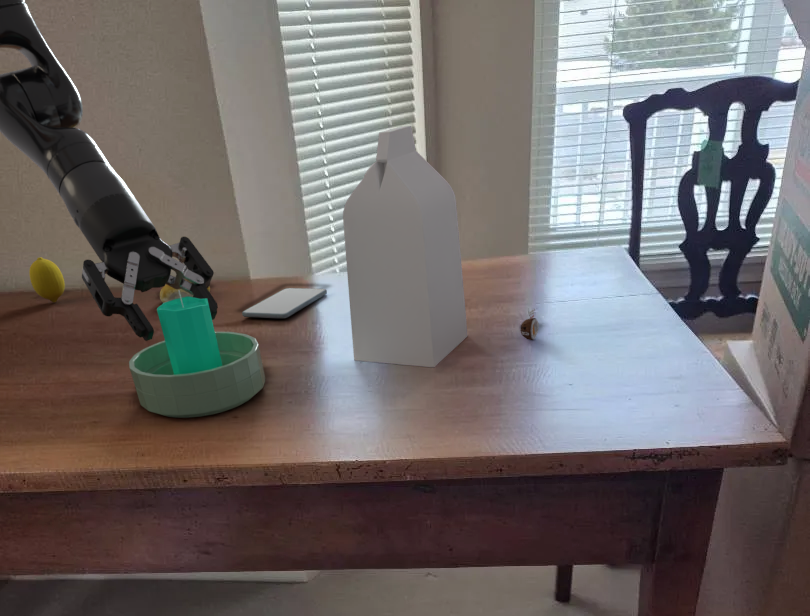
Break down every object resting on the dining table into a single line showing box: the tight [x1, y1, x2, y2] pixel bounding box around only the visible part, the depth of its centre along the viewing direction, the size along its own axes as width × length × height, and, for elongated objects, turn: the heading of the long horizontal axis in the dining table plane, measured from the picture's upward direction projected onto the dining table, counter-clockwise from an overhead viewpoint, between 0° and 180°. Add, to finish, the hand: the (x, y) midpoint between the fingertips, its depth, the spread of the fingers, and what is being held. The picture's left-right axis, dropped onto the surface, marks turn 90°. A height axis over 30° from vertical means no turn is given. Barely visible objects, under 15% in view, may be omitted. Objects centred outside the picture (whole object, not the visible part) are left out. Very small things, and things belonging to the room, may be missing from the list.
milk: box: [342, 125, 469, 368], centre depth 92 cm, size 12×12×26 cm
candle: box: [156, 290, 222, 375], centre depth 87 cm, size 6×6×12 cm
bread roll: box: [159, 280, 211, 304], centre depth 128 cm, size 8×9×4 cm
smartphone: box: [241, 287, 328, 319], centre depth 120 cm, size 8×1×15 cm
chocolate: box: [519, 308, 540, 341], centre depth 97 cm, size 3×2×4 cm
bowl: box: [128, 331, 266, 419], centre depth 89 cm, size 15×15×6 cm
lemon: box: [28, 256, 66, 303], centre depth 133 cm, size 6×6×8 cm
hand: (182, 326), depth 86 cm, fingers open, 8 cm apart
